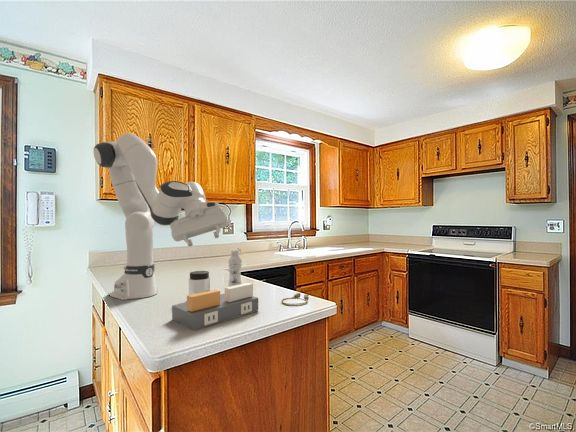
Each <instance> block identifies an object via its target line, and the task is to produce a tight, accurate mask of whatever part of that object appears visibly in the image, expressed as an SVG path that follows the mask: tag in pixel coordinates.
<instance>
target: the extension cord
mask: <svg viewBox="0 0 576 432" xmlns="http://www.w3.org/2000/svg"><path fill="white" fill-rule="evenodd" d="M301 295H302V294H301V292H297V293H295V294H294V295H293V296H292V297H286V298H285V297H284V298H283V299H282V300H281V304H283V305H285V306H289V307H290V306H291V307H295V306H296V307H298V306H304V305H307V304H309V301H308V299H309V294H307V293H305V294H304V295H303V298H300V296H301ZM288 299H298V300H302V301H305V302H300V303H286V302H284V301H286V300H288Z"/></svg>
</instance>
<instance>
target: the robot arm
mask: <svg viewBox="0 0 576 432" xmlns="http://www.w3.org/2000/svg"><path fill="white" fill-rule="evenodd" d="M93 157H94V160H95V162H96V163H97V164H98V166H100V167H101V168H108V174H109V178H110V181H111V184H112V185H111V186H112V188H113V190H114V194H115V196H116V199H117V201H118V204H119V206H120V209H121V210H122V212H123V214H124V217H125V221H124V228H125V240H126V241H125V242H126V265H125V267H123V270H124V272H123V274H122V275H121V276H120V277H119V278H118V279H117V280H116V281H114V283H113V290H112V291H110V292H108V293H107V296H109V295H110V296H109V297H112V298H116V299H118V300H122V301H124V300H133V299H142V298H148V297H149V298H150V297H151V296H155V295H157V294H158V291H159V290H158V288H157V282H156V275H155V273H154V272H155V263H154V239H153V236H154V235H153V234H154V233H153V229H154V226H155V223H156V224H158V225H160V226H170V227H169V228H170V229H171V233H170V234H171V237H172V239H173V241H175V242H181V241H184V242H185V243H186V245H187V246H188V247H192V246H193V245H194V244H193V243H194V242H193V240H192V239H191V238H194V237H197V236H200V235H204V234H207V233H209V232H213V237H214V238H215V239H218V238H220V233H221V229H223V228H226V227H229V225H230V221H229V218H228V215H226V212H225V211H224V209H223V208H222V207H221V205H220V204H219V201H218V202H217V201H209V202H207V198H206V194H205V192H204V189H203V188H202V186H201V185H200V184H199V183H197V182H195V181H187V182H183V181H176V180H169V181H166V182H163V183H162V184H161V185H160V187H159V189H158V188H157V184H156V179H157V178H156V177H157V169H158V159H157V156H156V153H154V151H153V149H152V148H151V147H150V146H149V145H148V143H146V142H145V141H144V140H143V139H142V138H141V137H139V136H138V135H137V134H134V133H131V132H130V133H129V132H128V133H123V134H122V135H120V136H119V137H118V138H117V140H113V141H108V142H106V141H105V142H104V141H103V142H99V143H97V144H96V145H94V147H93ZM182 209H183V210H184V215H185V217H182V218H179V216H180V213H181V211H182Z"/></svg>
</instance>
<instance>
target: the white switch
mask: <svg viewBox="0 0 576 432" xmlns="http://www.w3.org/2000/svg"><path fill="white" fill-rule="evenodd" d="M224 294H225V301H228V302H232V301H236V300H240V299H243V298H247V297H251V296H254V284H253V283H251V282H246V283H245V282H244V283H242V284H240V285H235V286H231V287H228V286H227V287H224Z"/></svg>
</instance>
